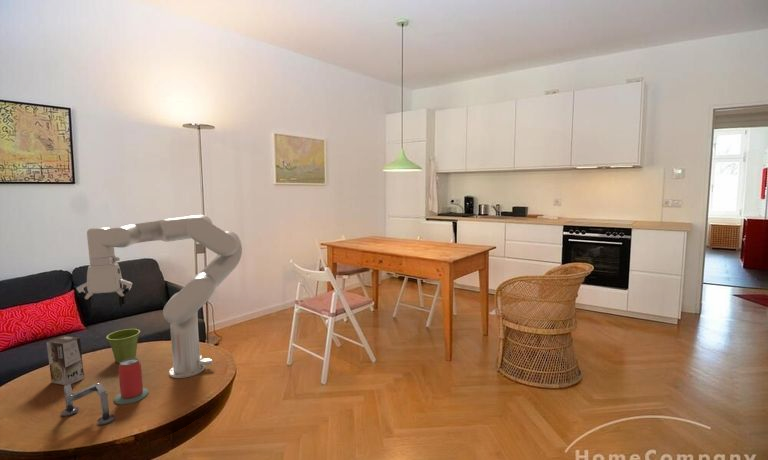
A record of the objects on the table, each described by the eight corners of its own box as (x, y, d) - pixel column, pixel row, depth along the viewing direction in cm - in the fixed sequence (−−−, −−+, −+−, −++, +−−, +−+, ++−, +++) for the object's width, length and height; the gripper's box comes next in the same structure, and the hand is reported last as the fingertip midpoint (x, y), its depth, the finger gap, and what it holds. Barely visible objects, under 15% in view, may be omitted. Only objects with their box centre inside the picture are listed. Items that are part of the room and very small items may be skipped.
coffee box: (85, 378, 151) (81, 337, 149) (67, 386, 145) (62, 343, 143) (68, 374, 154) (64, 334, 152) (50, 382, 148) (45, 341, 146)
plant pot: (101, 365, 162) (98, 338, 161) (124, 353, 174) (122, 328, 172) (127, 366, 160) (125, 339, 159) (148, 354, 172) (146, 329, 171)
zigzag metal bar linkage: (126, 401, 134) (124, 374, 133) (111, 423, 121) (109, 394, 120) (65, 410, 129) (62, 382, 128) (43, 434, 116) (40, 404, 115)
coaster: (151, 387, 143) (151, 385, 143) (143, 401, 134) (143, 399, 134) (120, 391, 140) (120, 390, 140) (109, 406, 131) (109, 404, 131)
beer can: (132, 400, 133) (129, 366, 132) (116, 398, 135) (112, 365, 133) (147, 390, 140) (145, 358, 138) (131, 389, 141) (128, 356, 140)
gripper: (133, 258, 149) (137, 302, 151) (79, 261, 145) (83, 306, 146) (126, 261, 142) (130, 308, 144) (69, 265, 137) (74, 313, 139)
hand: (107, 307), depth 145 cm, fingers open, 9 cm apart
